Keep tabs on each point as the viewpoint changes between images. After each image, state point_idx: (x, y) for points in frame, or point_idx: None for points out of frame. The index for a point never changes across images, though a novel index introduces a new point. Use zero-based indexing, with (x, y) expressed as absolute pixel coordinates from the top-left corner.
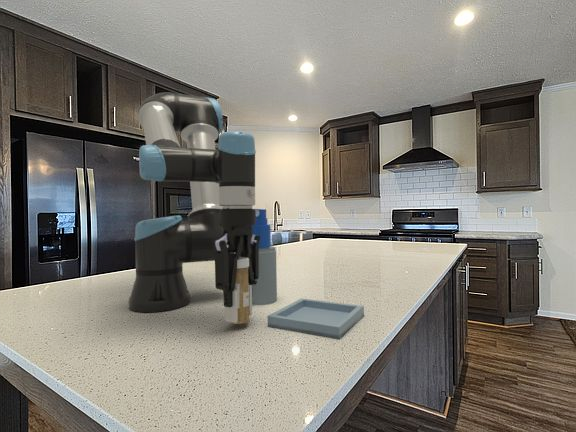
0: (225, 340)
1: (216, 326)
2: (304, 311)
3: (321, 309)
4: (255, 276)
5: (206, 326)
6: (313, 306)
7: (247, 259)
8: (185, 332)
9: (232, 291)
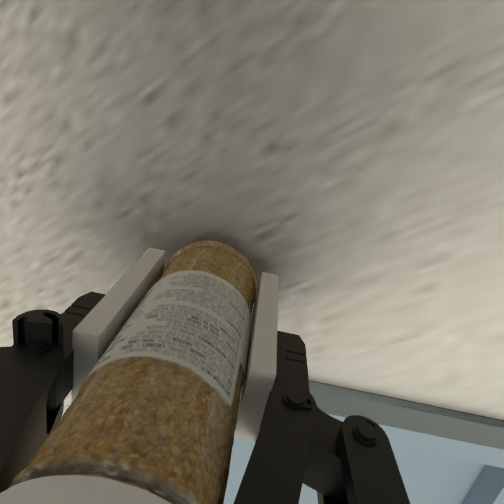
0: (69, 283)
1: (186, 177)
2: (419, 457)
3: (453, 501)
4: (318, 497)
5: (170, 129)
6: (480, 481)
7: None
8: (67, 73)
9: (74, 383)
